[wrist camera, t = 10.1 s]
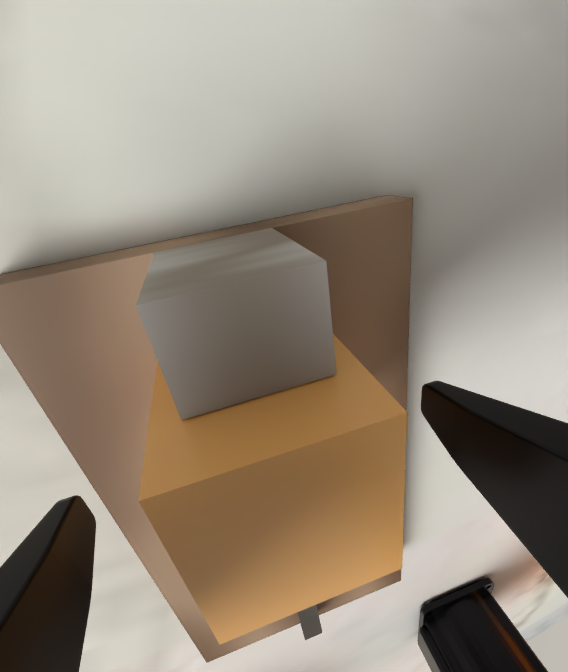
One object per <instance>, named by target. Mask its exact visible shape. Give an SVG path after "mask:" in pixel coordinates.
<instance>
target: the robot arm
mask: <svg viewBox="0 0 568 672" xmlns="http://www.w3.org/2000/svg"><path fill="white" fill-rule="evenodd" d="M421 411H422V413H423V415H424V417H425V419H426V420H427V422H428V423H429V424H430V426H431V427H432V429H433V430H434V432H435V433H436V435H437V436H438V438H439V439H440V441H441V442H442V444H443V445H444V447H445V448H446V450H447V451H448V453H449V454H450V455H451V457H452V458H453V460H454V461H455V462H456V464H457V465H458V466H459V467H460V469H461V470H462V471H463V472H464V474H465V475H466V476H467V477H468V478H469V480H470V481H471V482H472V483H473V484H474V486H475V487H476V488H477V489H478V490H479V492H480V493H481V494H482V495H483V496H484V498H485V499H486V500H487V501H488V502H489V504H490V505H491V506H492V507H493V508H494V510H495V511H496V512H497V513H498V514H499V516H500V517H501V518H502V519H503V520H504V522H505V523H506V524H507V525H508V526H509V528H510V529H511V530H512V531H513V532H514V534H515V535H516V536H517V537H518V539H519V540H520V541H521V542H522V543H523V545H524V546H525V547H526V548H527V549H528V551H529V552H530V553H531V554H532V555H533V557H534V558H535V559H536V560H537V561H538V563H539V564H540V565H541V566H542V567H543V569H544V570H545V571H546V572H547V573H548V575H549V576H550V577H551V578H552V579H553V581H554V582H555V583H556V584H557V585H558V587H559V588H560V589H561V590H562V591H563V593H564V594H565V595H566V596H567V597H568V423H565V422H562V421H559V420H556V419H553V418H550V417H547V416H544V415H541V414H538V413H535V412H532V411H529V410H526V409H523V408H520V407H517V406H513V405H510V404H507V403H504V402H501V401H498V400H495V399H492V398H489V397H486V396H483V395H480V394H477V393H474V392H471V391H468V390H465V389H462V388H459V387H456V386H453V385H450V384H447V383H443V382H440V381H433V382H430V383H427V384H425V385H423V387H422V396H421ZM95 533H96V521H95V518H94V515H93V514H92V512H91V511H90V509H89V508H88V506H87V505H86V503H85V502H84V501H83V499H82V498H81V497H80V496H78V495H77V496H72V497H69V498H66V499H62V500H60V501H58V502H57V503H56V504H55V505H54V506H53V507H52V508H51V510H50V511H49V512H48V513H47V514H46V515H45V516H44V518H43V519H42V520H41V521H40V522H39V523H38V524H37V526H36V527H35V528H34V529H33V530H32V531H31V533H30V534H29V535H28V536H27V537H26V538H25V539H24V541H23V542H22V543H21V544H20V545H19V546H18V548H17V549H16V550H15V551H14V552H13V553H12V554H11V556H10V557H9V558H8V559H7V560H6V561H5V563H4V564H3V565H2V566H1V567H0V672H79V667H80V661H81V655H82V649H83V643H84V637H85V631H86V625H87V619H88V614H89V607H90V600H91V592H92V579H93V564H94V548H95ZM493 586H494V583H493V582H492V580H491V579H490V578H486V579H484V580H481V581H479V582H477V583H475V584H472V585H470V586H468V587H466V588H463V589H461V590H459V591H457V592H454V593H452V594H450V595H448V596H445V597H443V598H441V599H439V600H436V601H434V602H432V603H430V604H427V605H425V606H424V607H422V609H421V611H420V621H419V632H418V645H419V647H420V649H421V651H422V653H423V655H424V657H425V659H426V661H427V663H428V665H429V667H430V669H431V671H432V672H548V671H547V670H546V668H545V667H544V666H543V664H542V663H541V662H540V660H539V659H538V658H537V656H536V655H535V653H534V652H533V651H532V649H531V648H530V646H529V645H528V644H527V642H526V641H525V640H524V638H523V637H522V636H521V634H520V633H519V631H518V630H517V629H516V627H515V626H514V625H513V623H512V622H511V621H510V619H509V618H508V616H507V615H506V614H505V612H504V611H503V610H502V608H501V607H500V606H499V604H498V603H497V601H496V600H495V599H494V597H493V596H492V595H491V593H492V590H493Z"/></svg>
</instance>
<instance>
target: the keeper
mask: <svg viewBox="0 0 568 672" xmlns="http://www.w3.org/2000/svg"><path fill="white" fill-rule="evenodd" d="M333 339H334V350H335V361H336V372H337V374H335V375H332V376H329V377H325V378H322V379H319V380H315V381H312V382H308V383H305V384H302V385H298V386H295V387H292V388H288V389H285V390H282V391H278V392H275V393H271V394H268V395H265V396H261V397H258V398H255V399H251V400H248V401H244V402H241V403H238V404H234V405H231V406H228V407H224V408H221V409H218V410H214V411H211V412H207V413H204V414H201V415H197V416H194V417H191V418H187V419H184V420H181V418H180V416H179V413H178V411H177V408H176V406H175V403H174V401H173V398H172V396H171V393H170V391H169V388H168V386H167V383H166V381H165V378H164V375H163V373H162V370H161V368H160V365H159V363H158V360H157V366H156V373H155V381H154V388H153V396H152V403H151V410H150V418H149V425H148V433H147V440H146V448H145V455H144V463H143V470H142V477H141V485H140V492H139V500H138V501H139V503H140V505H141V507H142V509H143V510H144V512H145V514H146V516H147V517H148V519H149V521H150V523H151V524H152V526H153V528H154V530H155V532H156V533H157V535H158V537H159V539H160V540H161V542H162V544H163V546H164V547H165V549H166V551H167V553H168V554H169V556H170V558H171V560H172V562H173V563H174V565H175V567H176V569H177V570H178V572H179V574H180V576H181V577H182V579H183V581H184V583H185V585H186V586H187V588H188V590H189V592H190V593H191V595H192V597H193V599H194V600H195V602H196V604H197V606H198V607H199V609H200V611H201V613H202V615H203V616H204V618H205V620H206V622H207V623H208V625H209V627H210V629H211V630H212V632H213V634H214V636H215V638H216V639H217V641H218V643H219V645H220V644H223V643H225V642H228V641H230V640H232V639H235V638H237V637H239V636H242V635H244V634H247V633H249V632H251V631H254V630H256V629H259V628H261V627H263V626H266V625H268V624H271V623H273V622H275V621H278V620H280V619H283V618H285V617H287V616H290V615H292V614H295V613H297V612H299V611H302V610H304V609H307V608H309V607H311V606H314V605H316V604H318V603H321V602H323V601H326V600H328V599H330V598H333V597H335V596H338V595H340V594H342V593H345V592H347V591H350V590H352V589H354V588H357V587H359V586H362V585H364V584H366V583H369V582H371V581H374V580H376V579H378V578H381V577H383V576H386V575H388V574H390V573H393V572H395V571H397V570H400V569H402V554H403V525H404V495H405V465H406V436H407V411H406V410H405V409H404V408H403V407H402V406H401V405H400V404H399V403H398V402H397V401H396V400H395V399H394V398H393V397H392V396H391V394H390V393H389V392H388V391H387V390H386V389H385V388H384V387H383V386H382V385H381V384H380V383H379V382H378V381H377V380H376V379H375V377H374V376H373V375H372V374H371V373H370V372H369V371H368V370H367V369H366V368H365V367H364V366H363V365H362V364H361V363H360V362H359V360H358V359H357V358H356V357H355V356H354V355H353V354H352V353H351V352H350V351H349V350H348V349H347V348H346V347H345V346H344V345H343V344H342V342H341V341H340V340H339V339H338V338H337V337H336V336H335V335H334V334H333Z"/></svg>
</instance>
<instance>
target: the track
mask: <svg viewBox="0 0 568 672" xmlns="http://www.w3.org/2000/svg"><path fill="white" fill-rule="evenodd" d="M412 210H413V198H406V197H396V196H387V195H386V196H381V197H376V198H371V199H366V200H361V201H356V202H352V203H347V204H342V205H337V206H332V207H327V208H322V209H317V210H313V211H308V212H303V213H298V214H293V215H288V216H283V217H278V218H274V219H269V220H264V221H259V222H254V223H249V224H244V225H239V226H235V227H230V228H225V229H220V230H215V231H210V232H205V233H200V234H196V235H191V236H186V237H181V238H176V239H171V240H166V241H161V242H157V243H152V244H147V245H142V246H137V247H132V248H127V249H122V250H118V251H113V252H108V253H103V254H98V255H93V256H88V257H83V258H79V259H74V260H69V261H64V262H59V263H54V264H49V265H44V266H40V267H35V268H30V269H25V270H20V271H15V272H10V273H5V274H1V275H0V344H1V346H2V347H3V349H4V350H5V352H6V353H7V355H8V356H9V358H10V359H11V361H12V363H13V364H14V366H15V367H16V369H17V370H18V372H19V373H20V375H21V376H22V378H23V380H24V381H25V383H26V384H27V386H28V387H29V389H30V390H31V392H32V393H33V395H34V397H35V398H36V400H37V401H38V403H39V404H40V406H41V407H42V409H43V410H44V412H45V413H46V415H47V417H48V418H49V420H50V421H51V423H52V424H53V426H54V427H55V429H56V430H57V432H58V434H59V435H60V437H61V438H62V440H63V441H64V443H65V444H66V446H67V447H68V449H69V451H70V452H71V454H72V455H73V457H74V458H75V460H76V461H77V463H78V464H79V466H80V468H81V469H82V471H83V472H84V474H85V475H86V477H87V478H88V480H89V481H90V483H91V485H92V486H93V488H94V489H95V491H96V492H97V494H98V495H99V497H100V498H101V500H102V502H103V503H104V505H105V506H106V508H107V509H108V511H109V512H110V514H111V515H112V517H113V519H114V520H115V522H116V523H117V525H118V526H119V528H120V529H121V531H122V532H123V534H124V536H125V537H126V539H127V540H128V542H129V543H130V545H131V546H132V548H133V549H134V551H135V553H136V554H137V556H138V557H139V559H140V560H141V562H142V563H143V565H144V566H145V568H146V570H147V571H148V573H149V574H150V576H151V577H152V579H153V580H154V582H155V583H156V585H157V587H158V588H159V590H160V591H161V593H162V594H163V596H164V597H165V599H166V600H167V602H168V604H169V605H170V607H171V608H172V610H173V611H174V613H175V614H176V616H177V617H178V619H179V620H180V622H181V624H182V625H183V627H184V628H185V630H186V631H187V633H188V634H189V636H190V637H191V639H192V641H193V642H194V644H195V645H196V647H197V648H198V650H199V651H200V653H201V654H202V656H203V658H204V659H205V661H206V662H210V661H212V660H214V659H217V658H219V657H221V656H224V655H226V654H229V653H231V652H233V651H236V650H238V649H240V648H243V647H245V646H247V645H250V644H252V643H254V642H257V641H259V640H262V639H264V638H266V637H269V636H271V635H273V634H276V633H278V632H280V631H283V630H285V629H287V628H290V627H292V626H295V625H297V624H299V623H301V627H302V630H303V634H304V637H305V640H307V639H309V638H311V637H314V636H316V635H318V634H321V633H322V629H321V624H320V620H319V615H320V614H323V613H325V612H328V611H330V610H332V609H335V608H337V607H339V606H342V605H344V604H346V603H349V602H351V601H353V600H356V599H358V598H361V597H363V596H365V595H368V594H370V593H372V592H375V591H377V590H379V589H382V588H384V587H386V586H389V585H391V584H394V583H396V582H398V581H401V569H400V570H397V571H395V572H393V573H390V574H388V575H386V576H383V577H381V578H378V579H376V580H374V581H371V582H369V583H366V584H364V585H362V586H359V587H357V588H354V589H352V590H350V591H347V592H345V593H342V594H340V595H338V596H335V597H333V598H330V599H328V600H326V601H323V602H321V603H318V604H316V605H314V606H311V607H309V608H307V609H304V610H302V611H299V612H297V613H295V614H292V615H290V616H287V617H285V618H283V619H280V620H278V621H275V622H273V623H271V624H268V625H266V626H263V627H261V628H259V629H256V630H254V631H251V632H249V633H247V634H244V635H242V636H239V637H237V638H235V639H232V640H230V641H228V642H225V643H223V644H220V645H219V643H218V641H217V639H216V638H215V636H214V634H213V632H212V630H211V629H210V627H209V625H208V623H207V622H206V620H205V618H204V616H203V615H202V613H201V611H200V609H199V607H198V606H197V604H196V602H195V600H194V599H193V597H192V595H191V593H190V592H189V590H188V588H187V586H186V585H185V583H184V581H183V579H182V577H181V576H180V574H179V572H178V570H177V569H176V567H175V565H174V563H173V562H172V560H171V558H170V556H169V554H168V553H167V551H166V549H165V547H164V546H163V544H162V542H161V540H160V539H159V537H158V535H157V533H156V532H155V530H154V528H153V526H152V524H151V523H150V521H149V519H148V517H147V516H146V514H145V512H144V510H143V509H142V507H141V505H140V503H139V501H138V500H139V492H140V485H141V477H142V470H143V463H144V455H145V448H146V440H147V433H148V425H149V418H150V410H151V403H152V396H153V388H154V381H155V373H156V366H157V360H158V363H159V365H160V368H161V370H162V373H163V375H164V378H165V381H166V383H167V386H168V388H169V391H170V393H171V396H172V398H173V401H174V403H175V406H176V408H177V411H178V413H179V416H180V418H181V420H184V419H187V418H191V417H194V416H197V415H201V414H204V413H207V412H211V411H214V410H218V409H221V408H224V407H228V406H231V405H234V404H238V403H241V402H244V401H248V400H251V399H255V398H258V397H261V396H265V395H268V394H271V393H275V392H278V391H282V390H285V389H288V388H292V387H295V386H298V385H302V384H305V383H308V382H312V381H315V380H319V379H322V378H325V377H329V376H332V375H335V374H337V372H336V361H335V350H334V339H333V334H334V335H335V336H336V337H337V338H338V339H339V340H340V341H341V342H342V344H343V345H344V346H345V347H346V348H347V349H348V350H349V351H350V352H351V353H352V354H353V355H354V356H355V357H356V358H357V359H358V360H359V362H360V363H361V364H362V365H363V366H364V367H365V368H366V369H367V370H368V371H369V372H370V373H371V374H372V375H373V376H374V377H375V379H376V380H377V381H378V382H379V383H380V384H381V385H382V386H383V387H384V388H385V389H386V390H387V391H388V392H389V393H390V394H391V396H392V397H393V398H394V399H395V400H396V401H397V402H398V403H399V404H400V405H401V406H402V407H403V408H404V409H405V410H406V400H407V368H408V337H409V305H410V273H411V241H412Z"/></svg>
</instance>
